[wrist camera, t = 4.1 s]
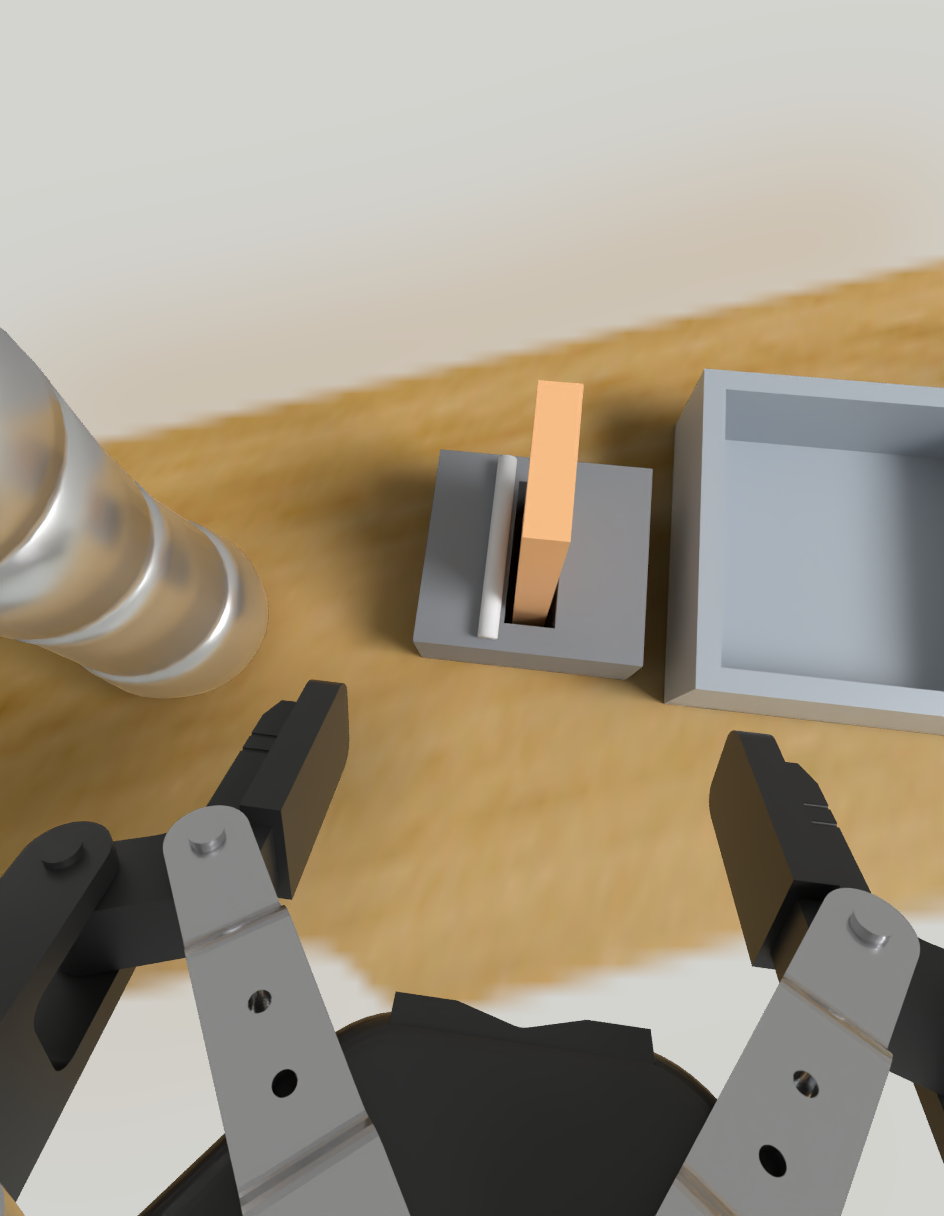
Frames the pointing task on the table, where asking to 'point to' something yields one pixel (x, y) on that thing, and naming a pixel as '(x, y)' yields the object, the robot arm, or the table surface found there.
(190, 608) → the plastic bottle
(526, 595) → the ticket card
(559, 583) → the ticket dispenser
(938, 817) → the table surface
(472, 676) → the table surface
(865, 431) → the tray
